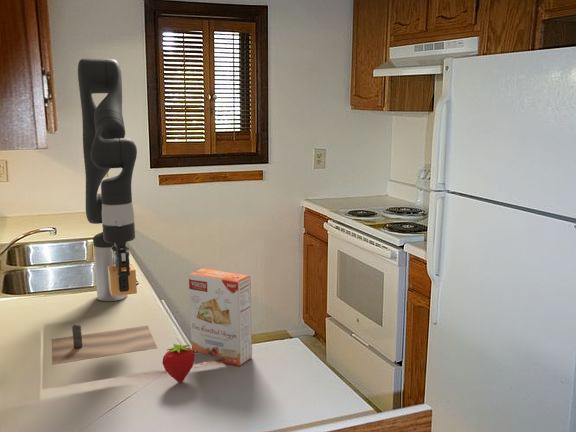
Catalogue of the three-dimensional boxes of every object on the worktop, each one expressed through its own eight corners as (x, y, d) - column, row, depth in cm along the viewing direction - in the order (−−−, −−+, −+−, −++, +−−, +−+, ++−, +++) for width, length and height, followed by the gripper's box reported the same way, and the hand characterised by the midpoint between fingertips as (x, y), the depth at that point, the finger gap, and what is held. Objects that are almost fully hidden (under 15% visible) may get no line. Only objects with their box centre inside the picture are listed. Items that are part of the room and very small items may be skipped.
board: (52, 344, 152) (49, 316, 150) (147, 330, 160) (146, 304, 159) (52, 370, 137) (50, 339, 135) (157, 353, 146) (156, 324, 144)
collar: (109, 289, 149) (107, 266, 148) (133, 286, 152) (132, 263, 151) (111, 296, 144) (110, 272, 143) (136, 293, 146) (135, 269, 145)
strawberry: (157, 383, 130) (155, 340, 128) (185, 372, 135) (183, 330, 134) (173, 392, 126) (171, 348, 124) (201, 380, 131) (200, 337, 130)
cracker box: (190, 356, 144) (187, 273, 140) (205, 347, 149) (202, 267, 145) (239, 367, 137) (237, 281, 134) (253, 358, 143) (251, 274, 139)
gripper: (99, 217, 150) (104, 281, 153) (105, 228, 136) (109, 298, 140) (130, 214, 152) (134, 277, 156) (138, 225, 139) (142, 293, 142)
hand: (122, 287), depth 148 cm, fingers closed on collar, 6 cm apart
